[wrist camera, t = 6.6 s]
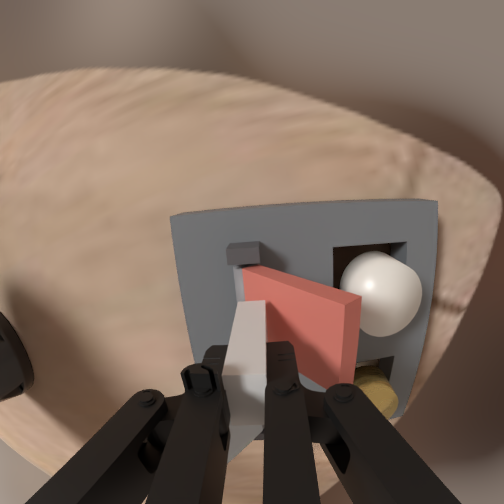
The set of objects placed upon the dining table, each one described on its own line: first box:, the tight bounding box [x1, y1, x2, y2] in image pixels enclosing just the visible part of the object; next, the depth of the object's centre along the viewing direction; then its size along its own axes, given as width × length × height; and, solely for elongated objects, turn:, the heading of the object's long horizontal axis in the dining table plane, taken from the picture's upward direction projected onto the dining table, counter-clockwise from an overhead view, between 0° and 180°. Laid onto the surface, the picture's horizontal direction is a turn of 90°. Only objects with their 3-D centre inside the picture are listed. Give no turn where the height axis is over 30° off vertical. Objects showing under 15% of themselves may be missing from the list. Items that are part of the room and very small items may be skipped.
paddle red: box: [233, 264, 362, 390], centre depth 15 cm, size 2×5×9 cm
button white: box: [340, 251, 422, 337], centre depth 17 cm, size 5×5×4 cm
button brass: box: [353, 366, 398, 420], centre depth 19 cm, size 5×5×4 cm
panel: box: [170, 199, 438, 440], centre depth 21 cm, size 20×22×5 cm
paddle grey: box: [227, 420, 264, 464], centre depth 18 cm, size 2×5×9 cm
